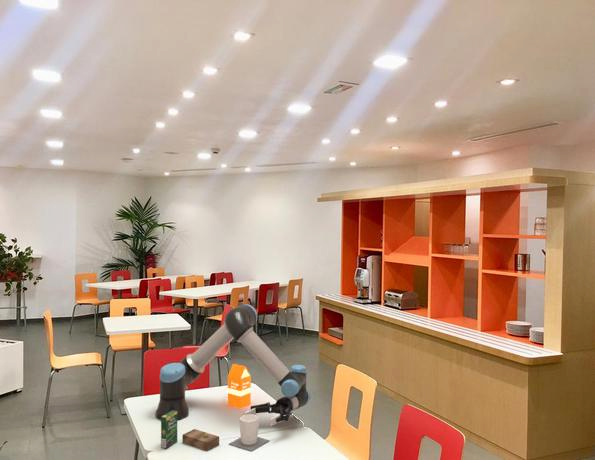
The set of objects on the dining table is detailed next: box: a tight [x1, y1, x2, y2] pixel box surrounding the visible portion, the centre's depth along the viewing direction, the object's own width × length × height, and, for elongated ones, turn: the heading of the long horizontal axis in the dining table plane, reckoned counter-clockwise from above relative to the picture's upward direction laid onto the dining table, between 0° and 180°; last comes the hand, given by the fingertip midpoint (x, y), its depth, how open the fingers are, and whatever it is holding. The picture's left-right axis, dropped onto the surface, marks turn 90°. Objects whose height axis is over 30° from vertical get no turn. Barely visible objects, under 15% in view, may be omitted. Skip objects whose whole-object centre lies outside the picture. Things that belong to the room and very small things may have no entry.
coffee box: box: [160, 410, 178, 450], centre depth 208 cm, size 8×3×13 cm, turn 159°
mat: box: [228, 436, 270, 453], centre depth 210 cm, size 12×12×1 cm
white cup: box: [239, 414, 260, 445], centre depth 210 cm, size 8×8×10 cm
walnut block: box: [182, 428, 220, 452], centre depth 209 cm, size 14×7×5 cm, turn 57°
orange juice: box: [227, 363, 252, 409], centre depth 256 cm, size 8×9×20 cm
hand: (257, 419), depth 214 cm, fingers open, 13 cm apart
